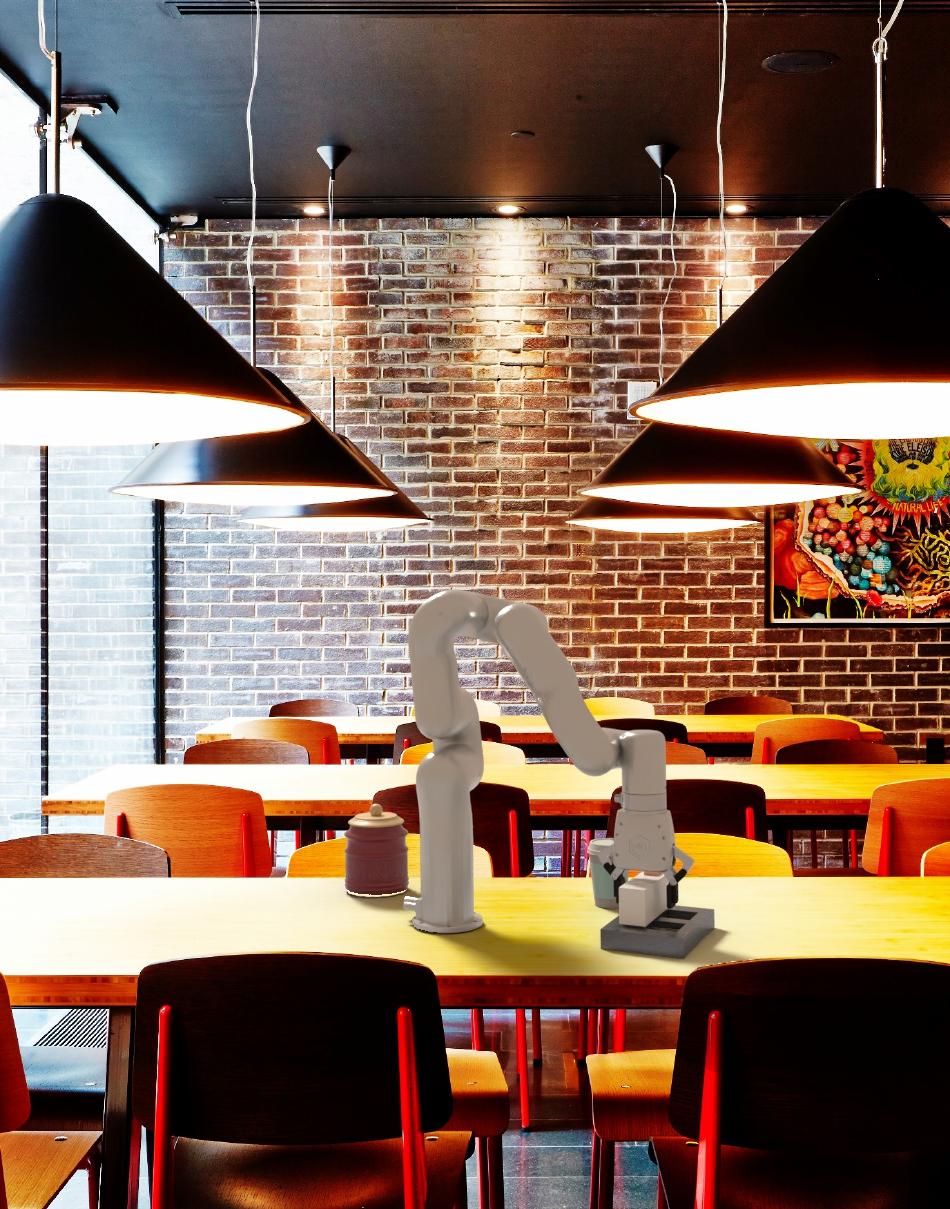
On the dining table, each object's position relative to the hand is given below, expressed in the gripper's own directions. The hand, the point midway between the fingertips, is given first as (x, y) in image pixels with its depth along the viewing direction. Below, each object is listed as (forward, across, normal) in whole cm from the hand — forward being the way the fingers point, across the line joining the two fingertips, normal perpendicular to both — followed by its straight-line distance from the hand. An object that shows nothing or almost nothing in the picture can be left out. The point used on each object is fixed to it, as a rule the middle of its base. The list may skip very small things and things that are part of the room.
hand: (645, 904), depth 190 cm
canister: (+6, -60, +10) cm, 61 cm away
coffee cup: (+6, -13, +18) cm, 23 cm away
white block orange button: (+5, 0, 0) cm, 5 cm away
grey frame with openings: (+5, +2, 0) cm, 6 cm away
